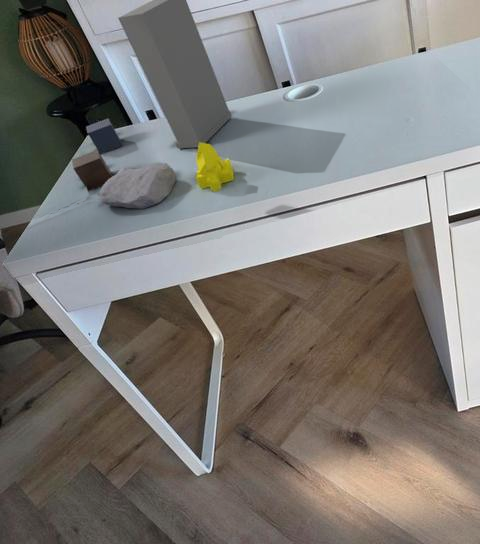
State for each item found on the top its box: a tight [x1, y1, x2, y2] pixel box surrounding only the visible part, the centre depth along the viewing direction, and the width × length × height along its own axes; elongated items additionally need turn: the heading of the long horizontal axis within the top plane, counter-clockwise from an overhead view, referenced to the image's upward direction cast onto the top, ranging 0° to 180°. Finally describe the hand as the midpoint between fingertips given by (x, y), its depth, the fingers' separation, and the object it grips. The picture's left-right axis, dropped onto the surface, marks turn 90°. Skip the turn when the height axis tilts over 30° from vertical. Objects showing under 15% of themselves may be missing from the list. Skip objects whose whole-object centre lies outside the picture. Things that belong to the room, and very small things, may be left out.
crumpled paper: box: [195, 142, 235, 193], centre depth 84 cm, size 6×8×8 cm
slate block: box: [85, 117, 123, 155], centre depth 107 cm, size 5×5×5 cm
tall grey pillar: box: [118, 0, 233, 150], centre depth 96 cm, size 14×6×25 cm, turn 165°
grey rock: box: [98, 161, 178, 210], centre depth 86 cm, size 12×5×10 cm
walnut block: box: [71, 149, 113, 192], centre depth 94 cm, size 5×5×5 cm
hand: (36, 3), depth 73 cm, fingers open, 9 cm apart
